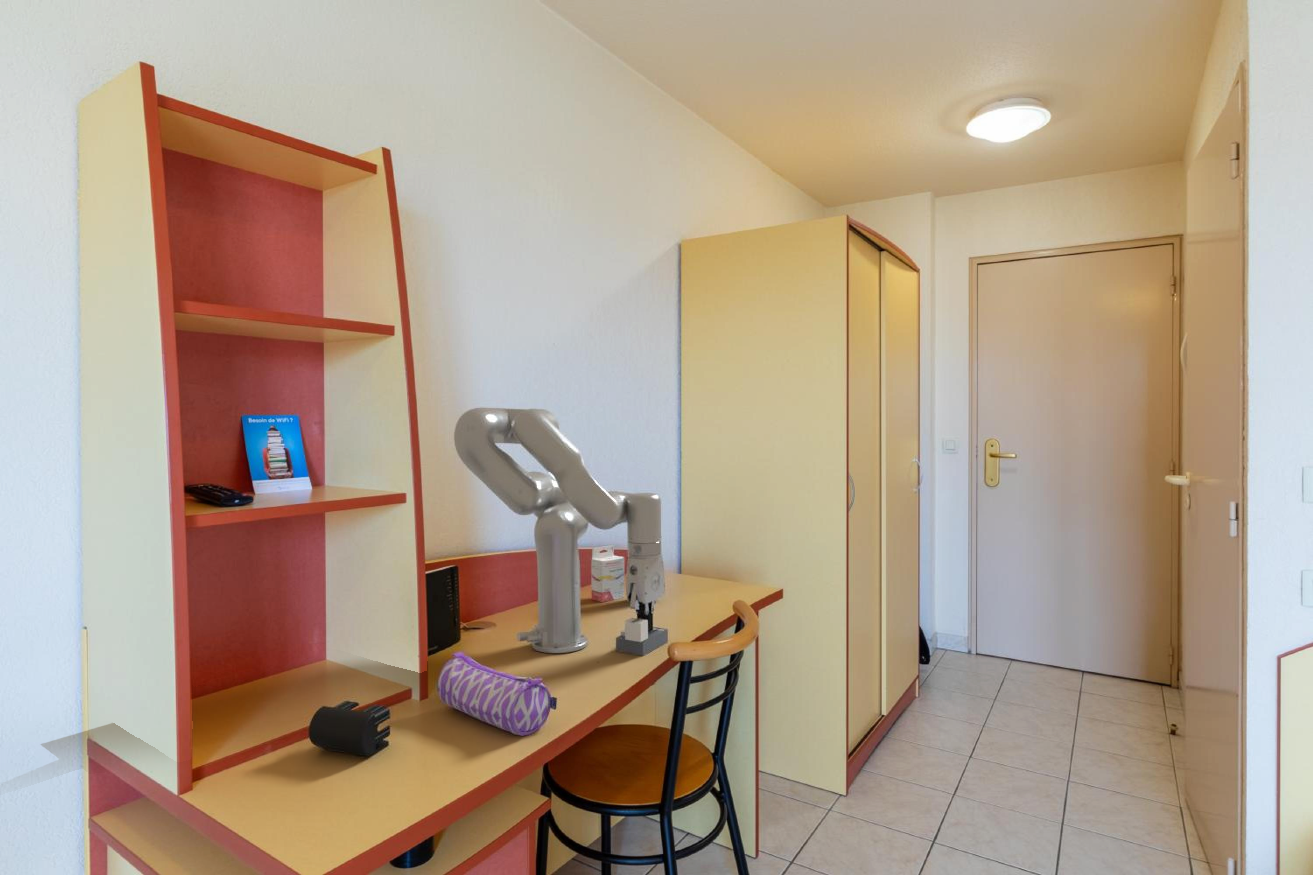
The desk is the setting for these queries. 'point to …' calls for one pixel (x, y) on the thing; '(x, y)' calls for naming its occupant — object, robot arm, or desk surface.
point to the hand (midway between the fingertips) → (645, 630)
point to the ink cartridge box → (606, 574)
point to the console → (642, 648)
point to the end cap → (350, 729)
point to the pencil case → (495, 695)
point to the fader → (636, 629)
